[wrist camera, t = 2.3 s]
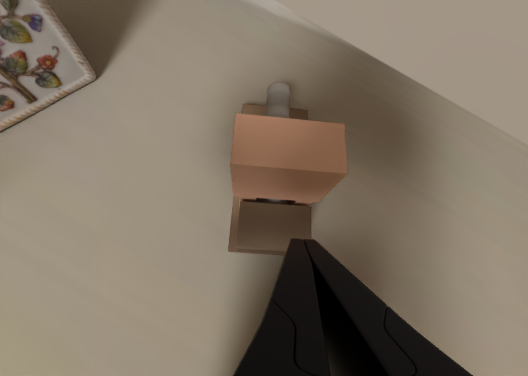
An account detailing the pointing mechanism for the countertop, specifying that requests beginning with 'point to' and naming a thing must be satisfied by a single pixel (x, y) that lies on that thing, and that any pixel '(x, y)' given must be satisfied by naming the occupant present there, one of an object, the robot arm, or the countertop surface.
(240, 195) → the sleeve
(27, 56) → the decorative jar
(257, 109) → the pipe stand
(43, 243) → the countertop surface
